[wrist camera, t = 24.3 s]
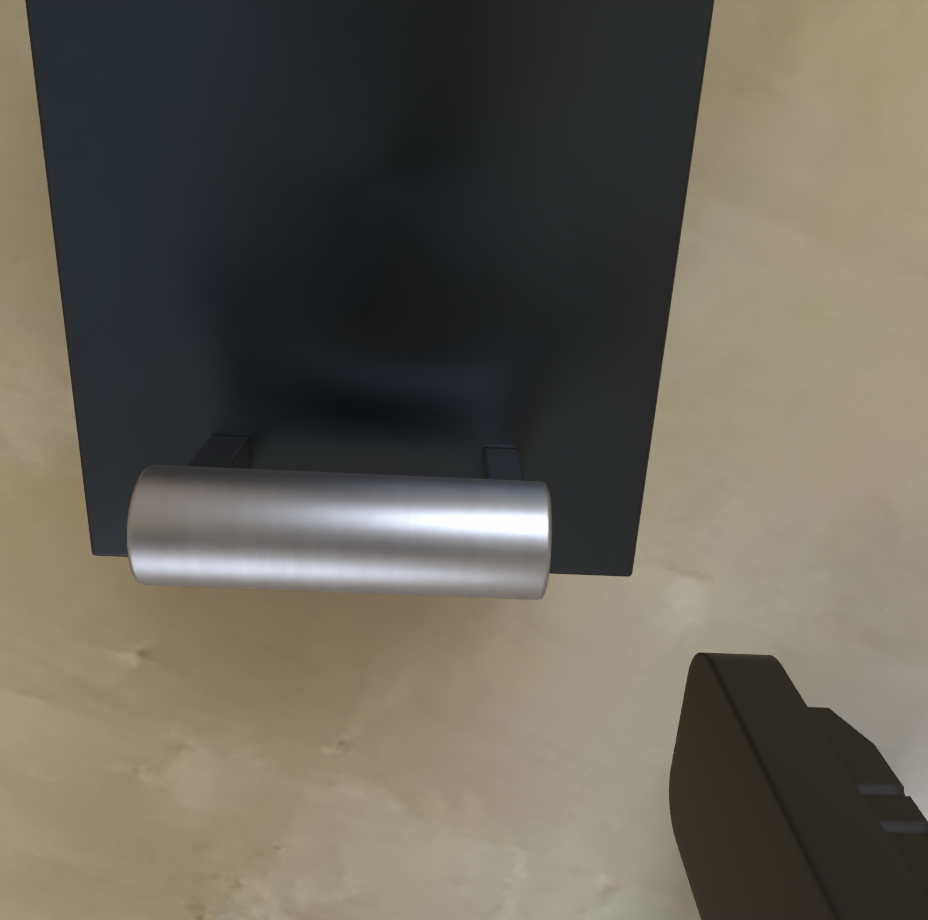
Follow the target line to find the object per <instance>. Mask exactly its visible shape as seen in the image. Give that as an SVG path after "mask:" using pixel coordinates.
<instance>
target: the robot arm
mask: <svg viewBox="0 0 928 920" xmlns="http://www.w3.org/2000/svg"><path fill="white" fill-rule="evenodd" d="M669 802H670V813H671V821H672V827H673V831H674V835H675V839H676V842H677V845H678V849H679V852H680V855H681V858H682V861H683V864H684V867H685V870H686V873H687V877H688V880H689V883H690V886H691V889H692V892H693V895H694V898H695V902H696V905H697V908H698V911H699V914H700V917H701V920H928V821H927V820H926V819H925V817H924V816H923V814H922V813H921V811H920V810H919V808H918V807H917V806H916V804H915V803H914V801H913V800H912V798H911V797H910V796H905V795H904V787H903V785H902V784H901V783H900V781H899V780H898V778H897V777H896V775H895V774H894V772H893V771H892V770H891V768H890V767H889V765H888V764H887V762H886V761H885V759H884V758H883V757H882V755H881V754H880V752H879V751H878V749H877V748H876V746H875V745H874V744H873V743H872V742H870V741H869V740H868V739H867V738H865V737H864V736H863V735H862V734H860V733H859V732H858V731H857V730H856V729H854V728H853V727H852V726H851V725H849V724H848V723H847V722H846V721H844V720H843V719H842V718H841V717H839V716H838V715H837V714H836V713H834V712H833V711H832V710H831V709H829V708H816V707H807V705H806V704H805V702H804V700H803V699H802V697H801V696H800V694H799V692H798V691H797V689H796V688H795V686H794V684H793V683H792V681H791V680H790V678H789V676H788V675H787V673H786V672H785V670H784V668H783V667H782V665H781V664H780V662H779V661H778V660H777V659H776V658H775V657H774V656H771V655H752V654H724V653H697V654H696V655H695V656H694V658H693V660H692V662H691V664H690V667H689V672H688V677H687V682H686V688H685V693H684V699H683V704H682V710H681V715H680V721H679V726H678V732H677V737H676V743H675V748H674V754H673V760H672V765H671V771H670V781H669Z"/></svg>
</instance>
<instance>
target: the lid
mask: <svg viewBox="0 0 928 920" xmlns="http://www.w3.org/2000/svg"><path fill="white" fill-rule="evenodd" d="M25 1H26V9H27V17H28V25H29V34H30V42H31V50H32V59H33V67H34V75H35V84H36V92H37V100H38V108H39V117H40V125H41V133H42V142H43V150H44V158H45V167H46V175H47V183H48V192H49V200H50V208H51V216H52V225H53V233H54V241H55V250H56V258H57V266H58V275H59V283H60V291H61V299H62V308H63V316H64V324H65V333H66V341H67V349H68V358H69V366H70V374H71V383H72V391H73V399H74V407H75V416H76V424H77V432H78V441H79V449H80V457H81V466H82V474H83V482H84V490H85V499H86V507H87V515H88V524H89V532H90V540H91V549H92V554H93V555H96V556H121V557H128V558H129V563H130V567H131V570H132V573H133V575H134V577H135V579H136V580H137V581H138V582H140V583H142V584H144V585H157V586H183V587H209V588H235V589H262V590H288V591H314V592H340V593H366V594H392V595H418V596H444V597H471V598H497V599H523V600H539V599H542V598H543V596H544V594H545V591H546V588H547V584H548V578H549V573H553V574H578V575H603V576H631V574H632V571H633V564H634V557H635V550H636V543H637V536H638V529H639V522H640V515H641V508H642V501H643V494H644V487H645V480H646V473H647V466H648V459H649V452H650V445H651V438H652V431H653V424H654V418H655V411H656V404H657V397H658V390H659V383H660V376H661V369H662V362H663V355H664V348H665V341H666V334H667V327H668V320H669V313H670V306H671V299H672V292H673V285H674V278H675V271H676V264H677V257H678V250H679V243H680V236H681V229H682V222H683V215H684V208H685V201H686V194H687V187H688V181H689V174H690V167H691V160H692V153H693V146H694V139H695V132H696V125H697V118H698V111H699V104H700V97H701V90H702V83H703V76H704V69H705V62H706V55H707V48H708V41H709V34H710V27H711V20H712V13H713V6H714V0H25Z"/></svg>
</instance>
